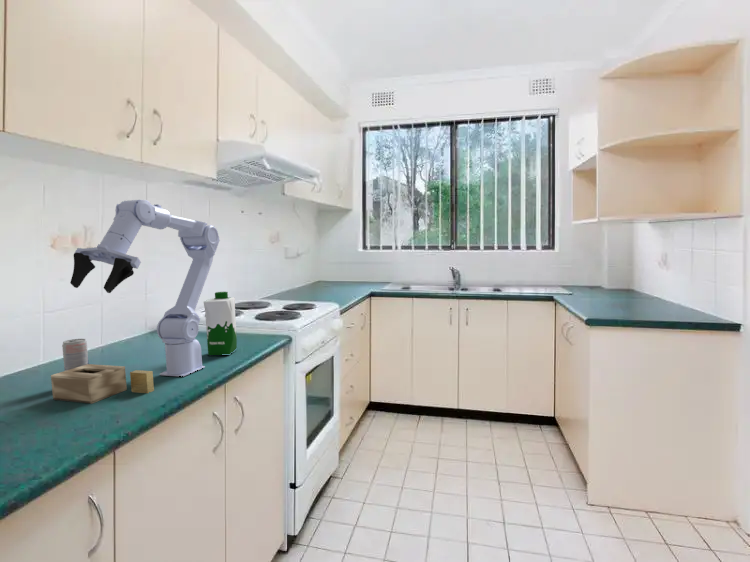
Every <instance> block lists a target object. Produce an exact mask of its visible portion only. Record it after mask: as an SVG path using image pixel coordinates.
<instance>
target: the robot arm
mask: <svg viewBox="0 0 750 562" xmlns="http://www.w3.org/2000/svg"><path fill="white" fill-rule="evenodd" d="M142 227H148V228H152V229H157V230H164V229H166V228H169V229H172V230H176V231H178V232H177V237H179V240H180V242H181V245H182V247H183V248H184V250H185V252H186V254H187V256H188V257H190V258H191V259H192V260H191V264H190V267H189V268H188V272H187V273H186V277H185V279H184V281H183V284H182V287H181V289H180V291H179V294H178V298H177V300H176V303H175V304H174V306H172V307H171V308H169V309H168V310H166V311H165V312H164V314H163V316H162V318H161V319H160V320H159V321H158V324H157V325H156V326H157V327H156V334H157V335H158V337H159V338H160V339H161V341H162V343H164V349H165V350H164V351H165V362H166V364H165V365H166V370H165V371H163V372H160V373H159V376H164V377H165V376H167V377H168V376H169V377H179V376H181V377H182V376H183V377H187V376H188V375H190V373H191V374H193V373H196V372H197V370H198V371H200V370H202V368H203V369H205V367H206V366H205V365H203V359H202V346H201V344H200V342H199V340H198V339H196V337H197V336H198V334H199V329H200V328H199V325H200V321H201V318H200V316H199V314H198V313H197V312H196V308H197V305H198V303H199V300H200V297H201V294H202V293H203V288H204V286H205V283H206V280H207V277H208V275H209V273H210V270H211V267H212V264H213V260H214V256H215V255H216V252H217V249H218V246H219V243H220V241H221V240H220V236H219V232H218V229H217V227H215V225H213V224H209V225H208V222H205V221H201V220H200V221H199V220H194V219H190V218H185V217H182V216H178V215H172V214H171V213H170V212H169V210H167V209H166V208H163V207H162V205H161V204H152V203H151V201H149V200H148V199H131V200H130V199H128V200H123V201H121V202H120V203H117V204H116V206H115V215H114V218H113V222H112V224H111V225H110V227H109V228H108V230H107V232H106V233H105V234H104V237H103V238H102V240H101V242H100V244H99V243H98V244H97V245H96V246H95V247H87V248H86V247H84V248H81V247H78V248H76V250H75V251H74V253H73V272H72V274H71V279H70V284H71V285H72V287H73V288H76V289H78V288H79V287H80V286H82V283H83V282H84V280H85V278H86V277H87V276H88V275H89V273H90V272H92V271H93V270H94V269H95V268H96V265H95V264H94V263H93V262H92V261H95V262H96V261H97V262H102V263H104V264H108V265H112V268H111V271H110V274H109V275H108V278H107V279H106V281H105V283H104V285H103V289H104V291H105V292H106V293H108V294H111V293H112V292H113V291H114V290H115V289H116V288H117V287H118V286H119V285H120V284H121V283H123V282H124V281H126V280H127V279H128V278H130V277H132V276H133V275H134V274H135V271H134V269H139V268H140V265H141V263H142V262H141V260H140V258H139V257H137V256H134V255H130V254H127V253H128V251H129V249H130V248H131V246H132V243H133V241H135V238H136V237H137V234H138V233H139V231H140V229H141V228H142ZM195 371H196V372H195ZM183 377H182V378H183Z"/></svg>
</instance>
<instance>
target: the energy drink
mask: <svg viewBox="0 0 750 562" xmlns="http://www.w3.org/2000/svg"><path fill="white" fill-rule="evenodd" d="M61 347H62V356H63V367H64V371H67V370H70V369H73V368H77V367H80V366H83V365H87V364H90V363H89V351H88V343H87V340H86V338H74V339H72V338H71V339H67V340H64V341H63V342H62V346H61Z"/></svg>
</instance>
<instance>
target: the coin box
mask: <svg viewBox="0 0 750 562" xmlns="http://www.w3.org/2000/svg"><path fill="white" fill-rule="evenodd" d="M126 376H127V375H126V366H123V365H110V364H109V365H108V364H93V363H92V364H91V363H89V364H87V365H83V366H80V367H77V368H73V369H70V370H67V371H65V370H63V371H61V372H57V373H54V374H51V375H50V378H51V379H50V381H51V382H50V383H51V391H52V400H54V401H60V402H61V401H62V402H64V401H65V402H73V403H82V404H94V403H97V402H99V401H100V402H101V401H102V400H104V399H107V398H110V397H113V396H115V395H118V394H120V393H122V392H124V391H127V390H128V388H127V377H126Z"/></svg>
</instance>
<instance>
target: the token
mask: <svg viewBox="0 0 750 562" xmlns="http://www.w3.org/2000/svg"><path fill="white" fill-rule="evenodd" d="M153 372H154V371H152V370H141V369H140V370H137V369H135V370H133V371H130V372H129V375H130V377H129V378H130V388H131V392H132V393H140V394H149V392H150V393H152V392H154V391H155V385H154V373H153Z"/></svg>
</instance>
